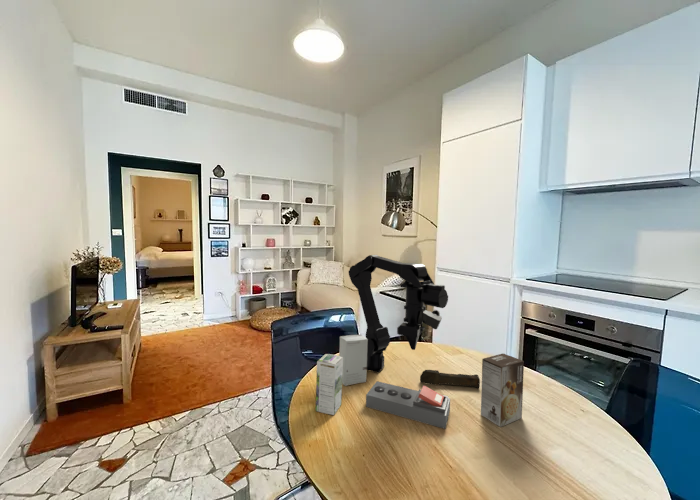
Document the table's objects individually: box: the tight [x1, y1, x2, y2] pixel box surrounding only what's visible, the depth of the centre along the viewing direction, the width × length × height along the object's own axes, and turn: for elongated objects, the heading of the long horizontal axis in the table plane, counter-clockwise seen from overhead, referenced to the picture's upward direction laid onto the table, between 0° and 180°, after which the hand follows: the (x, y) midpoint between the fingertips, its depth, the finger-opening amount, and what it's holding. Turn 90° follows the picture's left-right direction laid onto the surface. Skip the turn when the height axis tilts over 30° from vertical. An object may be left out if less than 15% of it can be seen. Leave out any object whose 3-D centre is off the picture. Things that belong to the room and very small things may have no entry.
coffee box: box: [480, 353, 525, 428], centre depth 82 cm, size 9×6×16 cm
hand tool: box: [419, 369, 481, 390], centre depth 100 cm, size 19×4×5 cm, turn 81°
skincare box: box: [338, 334, 368, 387], centre depth 101 cm, size 8×6×15 cm
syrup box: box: [315, 353, 343, 416], centre depth 84 cm, size 6×6×14 cm
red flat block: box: [419, 385, 444, 407], centre depth 82 cm, size 6×5×1 cm
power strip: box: [365, 380, 451, 430], centre depth 85 cm, size 22×9×4 cm, turn 65°
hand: (413, 349), depth 98 cm, fingers closed
